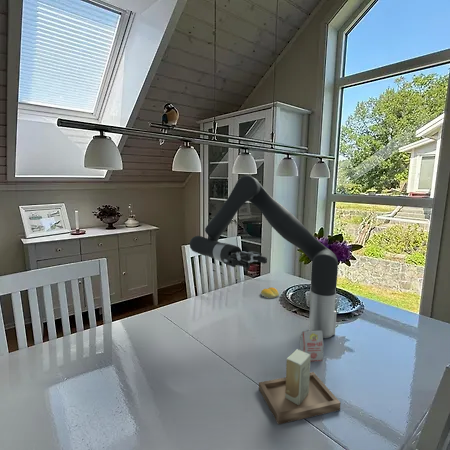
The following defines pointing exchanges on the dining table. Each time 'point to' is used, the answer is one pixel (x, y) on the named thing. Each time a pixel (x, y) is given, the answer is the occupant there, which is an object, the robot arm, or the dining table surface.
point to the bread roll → (270, 292)
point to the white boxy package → (312, 344)
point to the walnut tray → (311, 406)
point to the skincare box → (297, 376)
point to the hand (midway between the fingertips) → (257, 262)
